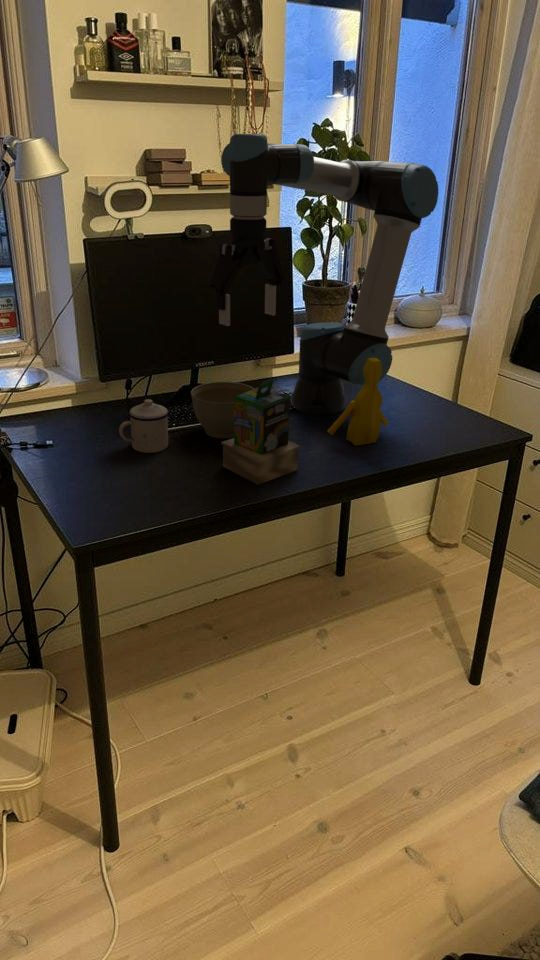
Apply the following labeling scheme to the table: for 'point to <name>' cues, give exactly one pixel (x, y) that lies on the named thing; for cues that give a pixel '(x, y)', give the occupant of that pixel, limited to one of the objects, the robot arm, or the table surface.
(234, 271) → the robot arm
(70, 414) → the table surface
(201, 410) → the planter bowl
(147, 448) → the teacup with lid
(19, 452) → the table surface
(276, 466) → the plinth
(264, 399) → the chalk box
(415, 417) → the table surface
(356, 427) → the figure statuette
